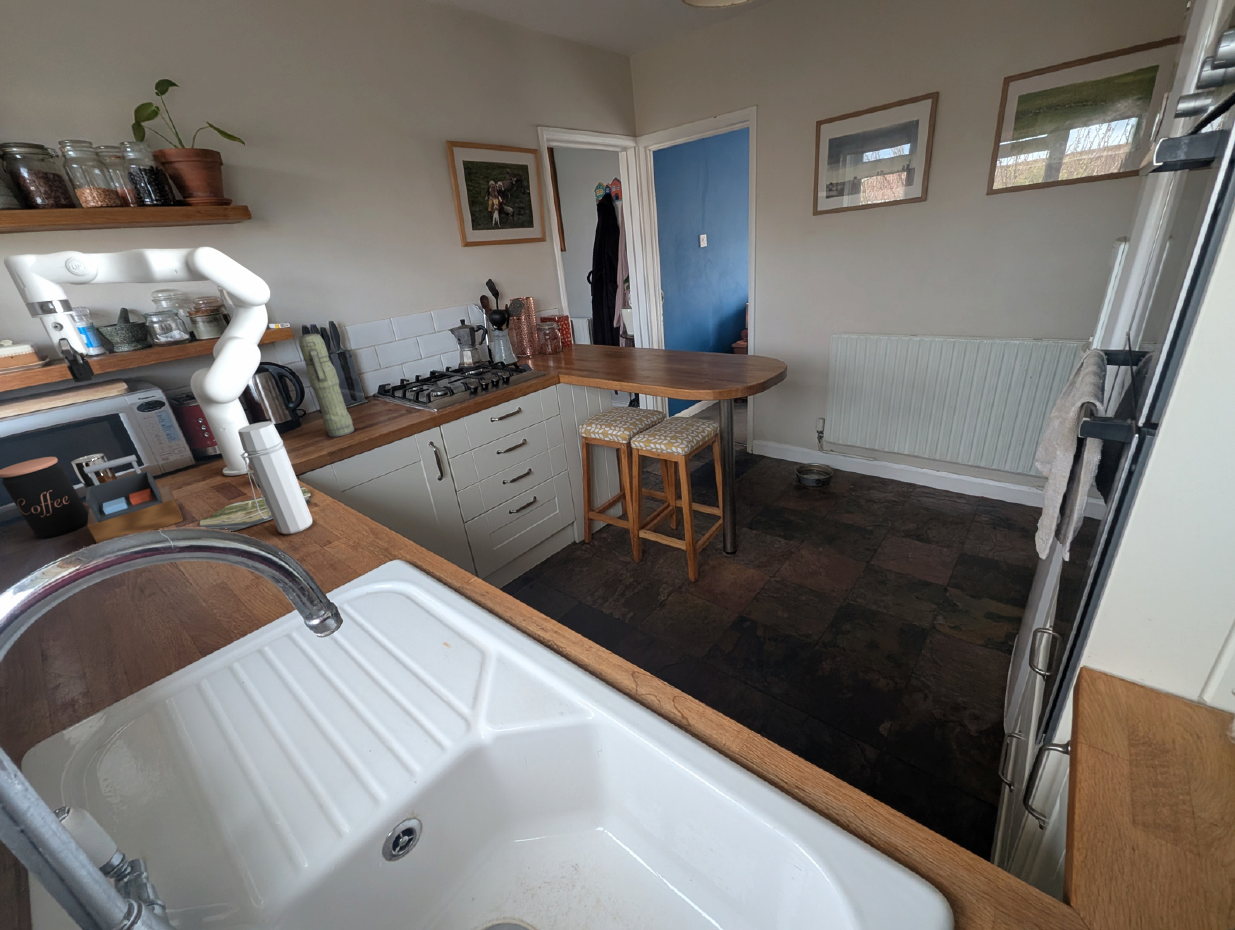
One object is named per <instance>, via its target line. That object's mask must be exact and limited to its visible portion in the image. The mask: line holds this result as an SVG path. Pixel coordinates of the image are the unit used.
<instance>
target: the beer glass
mask: <svg viewBox="0 0 1235 930" xmlns="http://www.w3.org/2000/svg"><path fill="white" fill-rule="evenodd" d="M108 461H109V460H108V458H107V457H106V455H105V453H93V454H90V455H85V456H82V457H79V458H76V459H74V460H72V461H71V462H70V464H71V465H72V467H73V470H74V471H75V475H76V476H77V478H78V479H79V482H80V483H81V484H82V485H83V487H85V488H86V489H87V487H91V486H94V485H95V484H94V482H93V480H92V479H91V477H90V475H89V474H86V473H85V471H84V469H83V468H85V467H89V466H93V465H96V464H100V463H104V462H108ZM94 474H95V476H96V478H97V480H98V481H99V483H100V484H101V483H105V482H109V481H112V480H116V479H118V478H117V476H116V472H115V470H114V467H112V468H108V469H104V470H100V471H97V472H94Z"/></svg>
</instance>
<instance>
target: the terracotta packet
mask: <svg viewBox="0 0 1235 930" xmlns="http://www.w3.org/2000/svg"><path fill="white" fill-rule="evenodd" d="M129 497H130V501H131V503H132V505H135V504H138V503H142V502H145V501H148V500H152V499H153V496H152V493H151V491H150V489H146V490H143V491H139V492H136V493H133V494H129Z"/></svg>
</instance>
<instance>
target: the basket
mask: <svg viewBox="0 0 1235 930" xmlns="http://www.w3.org/2000/svg"><path fill="white" fill-rule="evenodd" d="M137 462H138V458H137V457H136V454H132V455H127V456H124V457H120V458H117V459H112V460H108V462H104V463H100V464H96V465H93V466H89V467H85V468H83V469H84V471H85V473H86V474H89V475H90V477H91V479H92V480H93V482H94V484H95V485H94V486H91V487H87V488H86V491H85V501H86V504H87V505H88V507H89V509H91V510H92V512H93V514H94V515H95V517H96V519H97V521H98V522H102V521H105V520H109V519H112V518H115V517H118V516H121V515H125V514H128V513H131V512H134V511H138V510H141V509H144V508H147V507H150V506H154V505H157V504H160V503H163V501H162V498H161V494H160V491H159V489H158V488H159V486H158V485H157V482H156V481H155V479H154V477H153V474H152V473H151V471H150V470H149V469H148V470H145V471H141V469H140V467H139V465H138V463H137ZM130 463H131V465H132V467H133V469H134V471H135V474H131V475H127V476H123V477H119V478H117V479H116V480H112V481H109V482H105V483H101V484H100V483H99V481H98V480H97V478H96V476H95V474H94V472H97V471H100V470H104V469H108V468H115V467H119V466H123V465H127V464H130ZM146 489H150V491H151V493H152V496H153V499H152V500H148V501H145V502H142V503H138V504H135V505H132V503H131V501H130V497H129V494H133V493H136V492H139V491H143V490H146ZM123 497H124V498H125V500H126V502H127V508H126V509H123V510H119V511H116V512H113V513H109V514H105V512H104V510H103V503H106V502H109V501H113V500H116V499H119V498H123Z"/></svg>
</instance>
